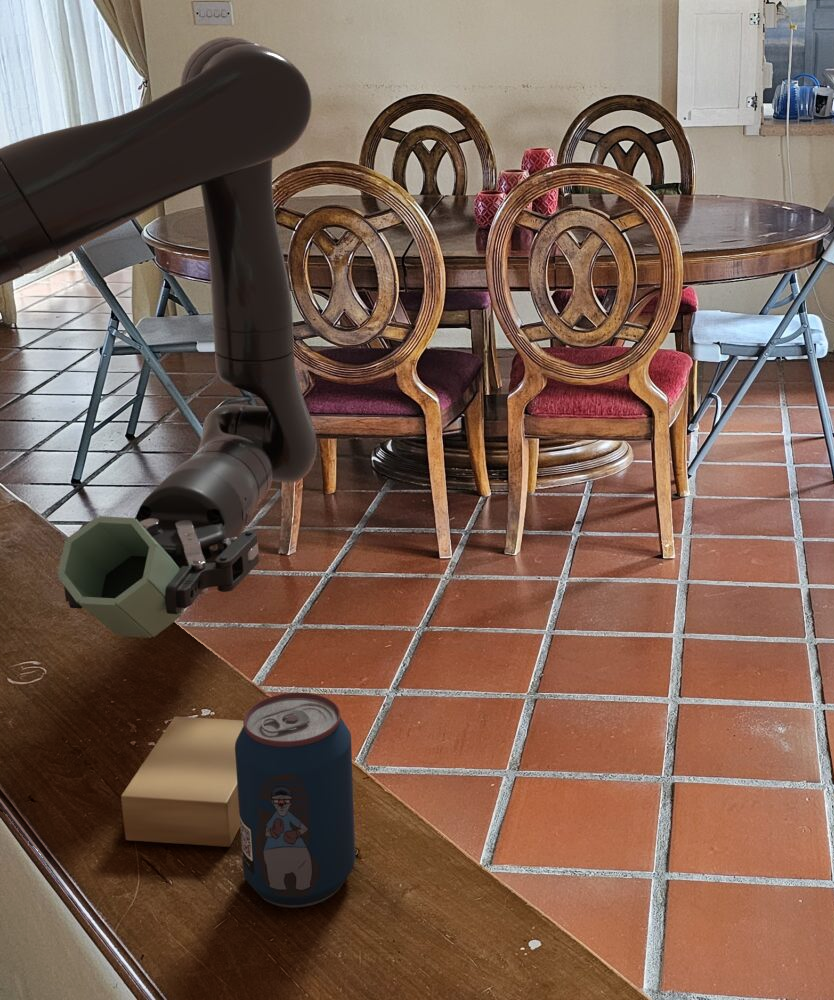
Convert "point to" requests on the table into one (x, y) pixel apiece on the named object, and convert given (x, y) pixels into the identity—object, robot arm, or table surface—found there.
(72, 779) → the table surface
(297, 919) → the table surface
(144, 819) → the step
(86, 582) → the octagonal tube
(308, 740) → the soda can
